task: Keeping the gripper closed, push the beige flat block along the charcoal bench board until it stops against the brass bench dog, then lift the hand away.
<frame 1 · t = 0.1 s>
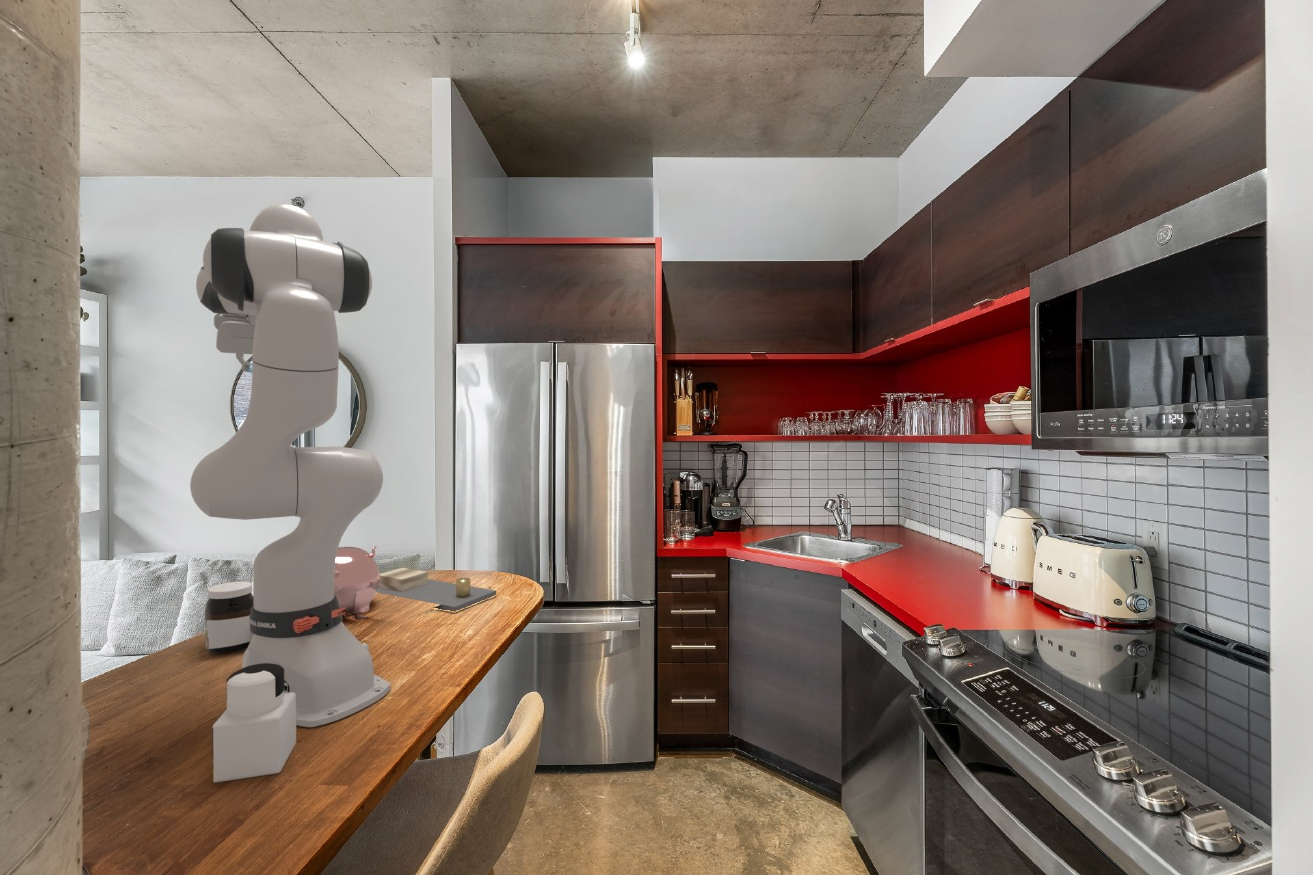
hand: (270, 371, 138), 54 cm above the table, tool tilted 30°, fingers open, 8 cm apart
beige flat block: (402, 585, 148), point 1 cm above the table, touching bench board
medicine bottle: (257, 763, 74), on the table
piggy bank: (334, 617, 129), on the table
spread jar: (243, 647, 112), on the table
bench dog: (463, 602, 139), resting on bench board
bench board: (428, 595, 144), on the table
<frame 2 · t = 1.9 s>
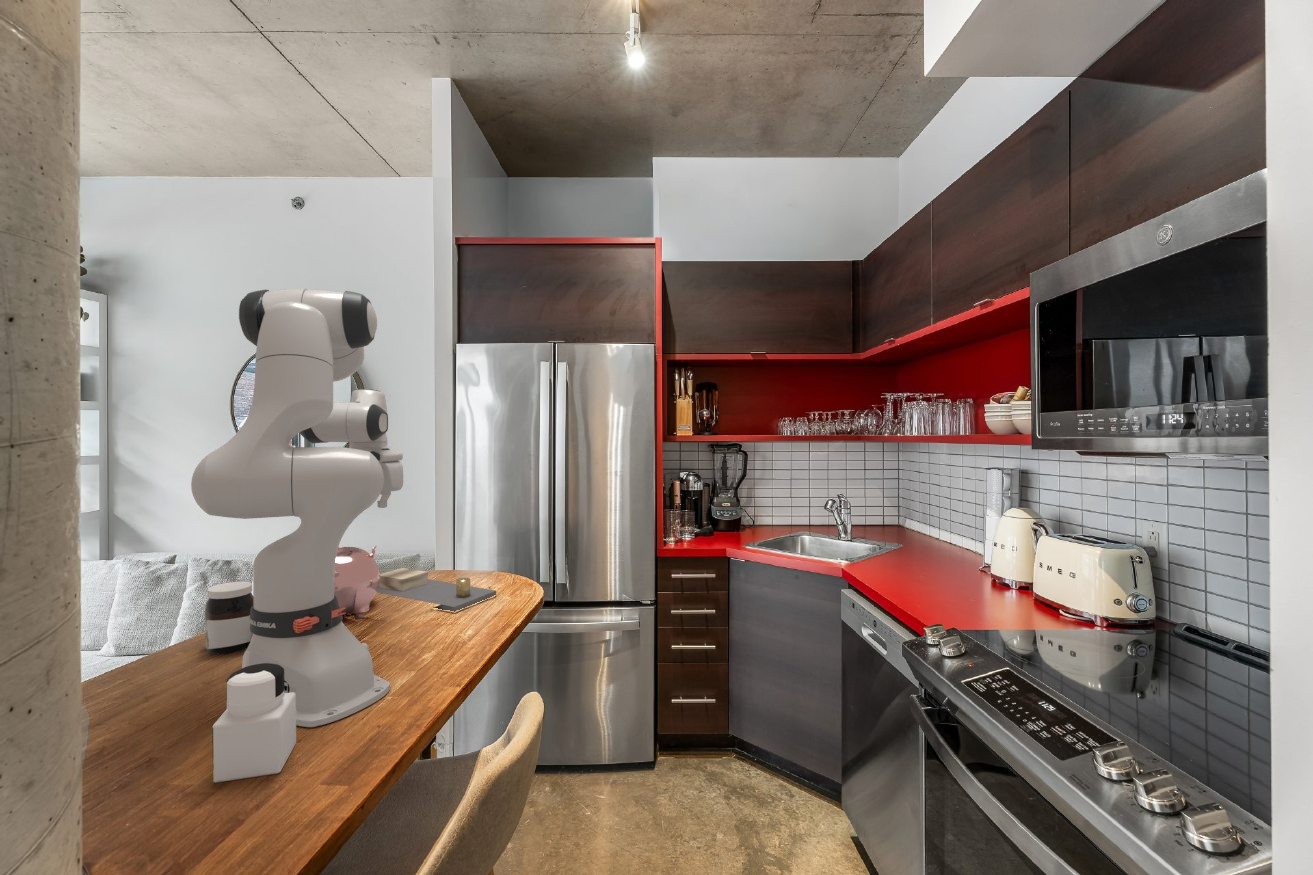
hand: (368, 505, 152), 21 cm above the table, tool pointing down, fingers open, 8 cm apart
nothing on the table moved.
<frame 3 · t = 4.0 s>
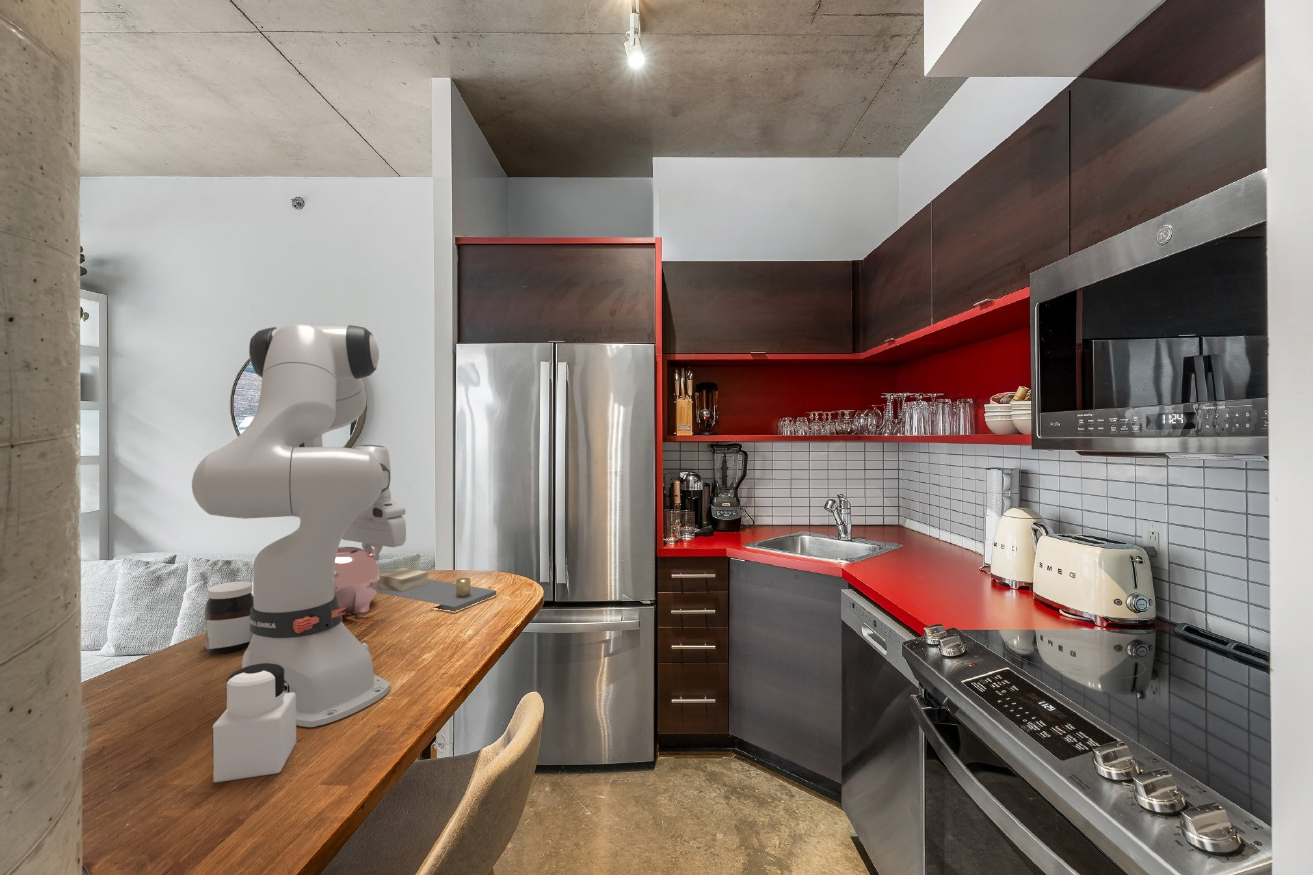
hand: (372, 560, 152), 7 cm above the table, tool pointing down, fingers closed
nothing on the table moved.
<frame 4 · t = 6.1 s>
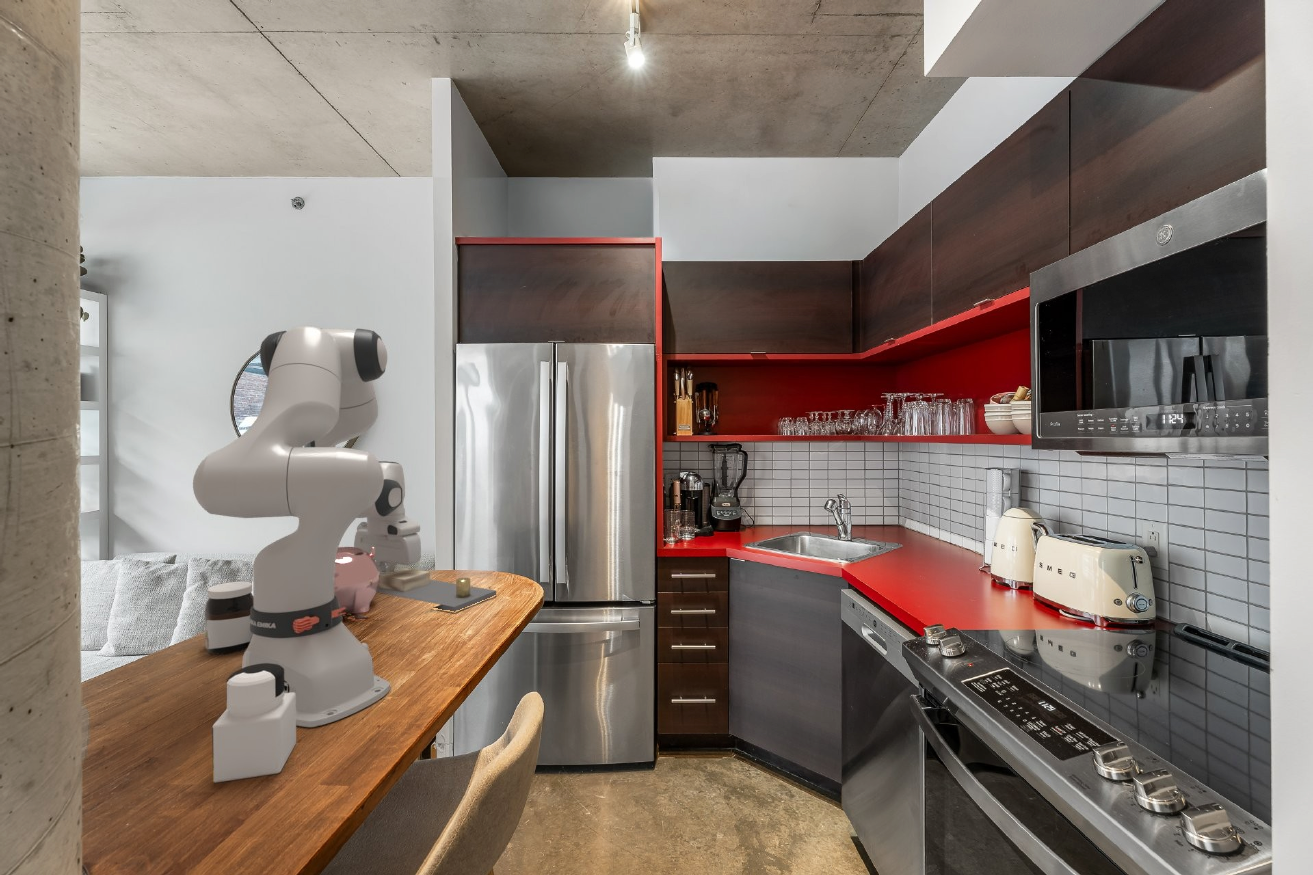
hand: (386, 578, 150), 3 cm above the table, tool pointing down, fingers closed
beige flat block: (404, 585, 147), point 2 cm above the table, touching gripper
everything else where it was.
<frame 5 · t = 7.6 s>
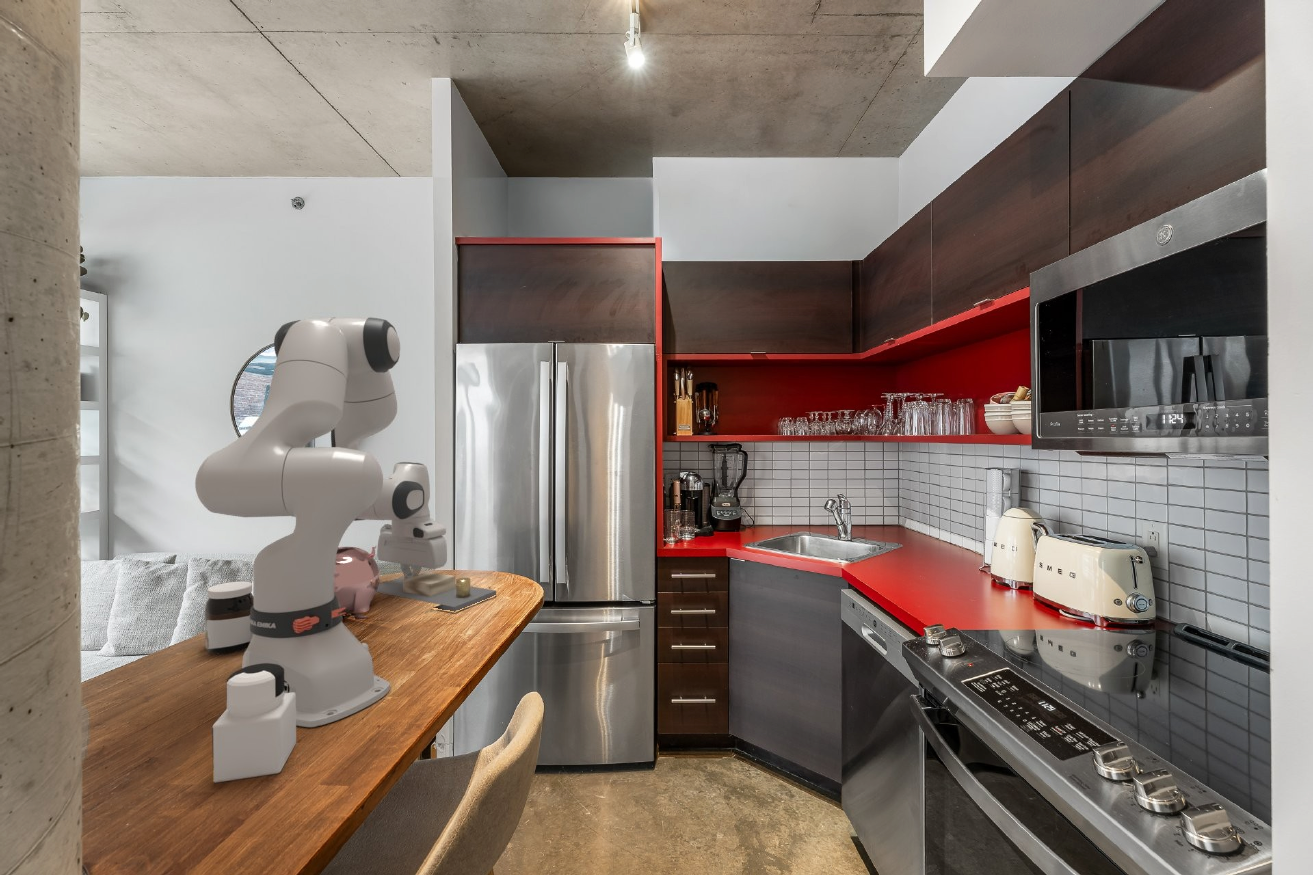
hand: (411, 581, 146), 3 cm above the table, tool pointing down, fingers closed
beige flat block: (429, 589, 144), point 1 cm above the table, touching bench board, gripper
everything else where it was.
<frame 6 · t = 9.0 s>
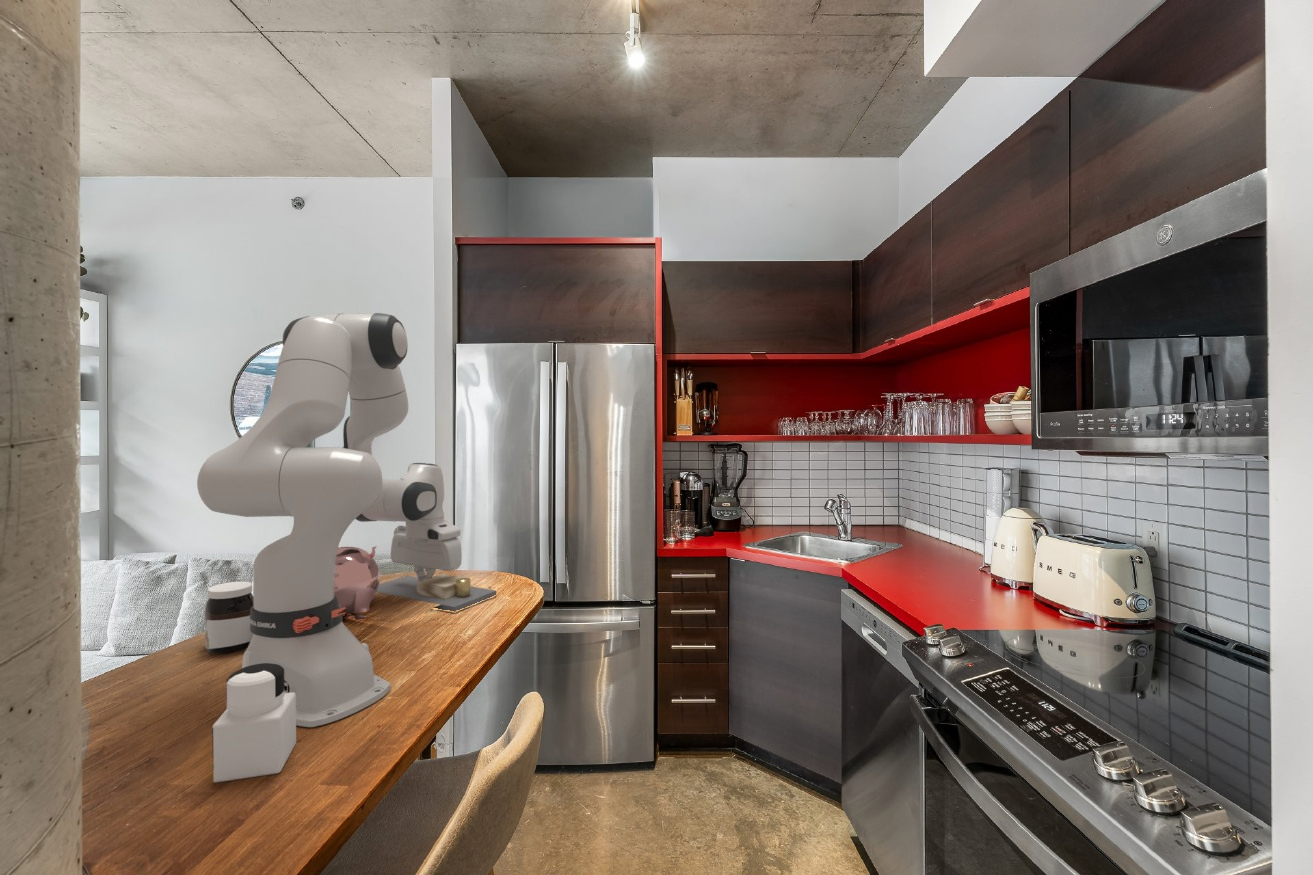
hand: (425, 584, 144), 3 cm above the table, tool pointing down, fingers closed
beige flat block: (443, 592, 142), point 2 cm above the table, touching bench board, gripper
everything else where it was.
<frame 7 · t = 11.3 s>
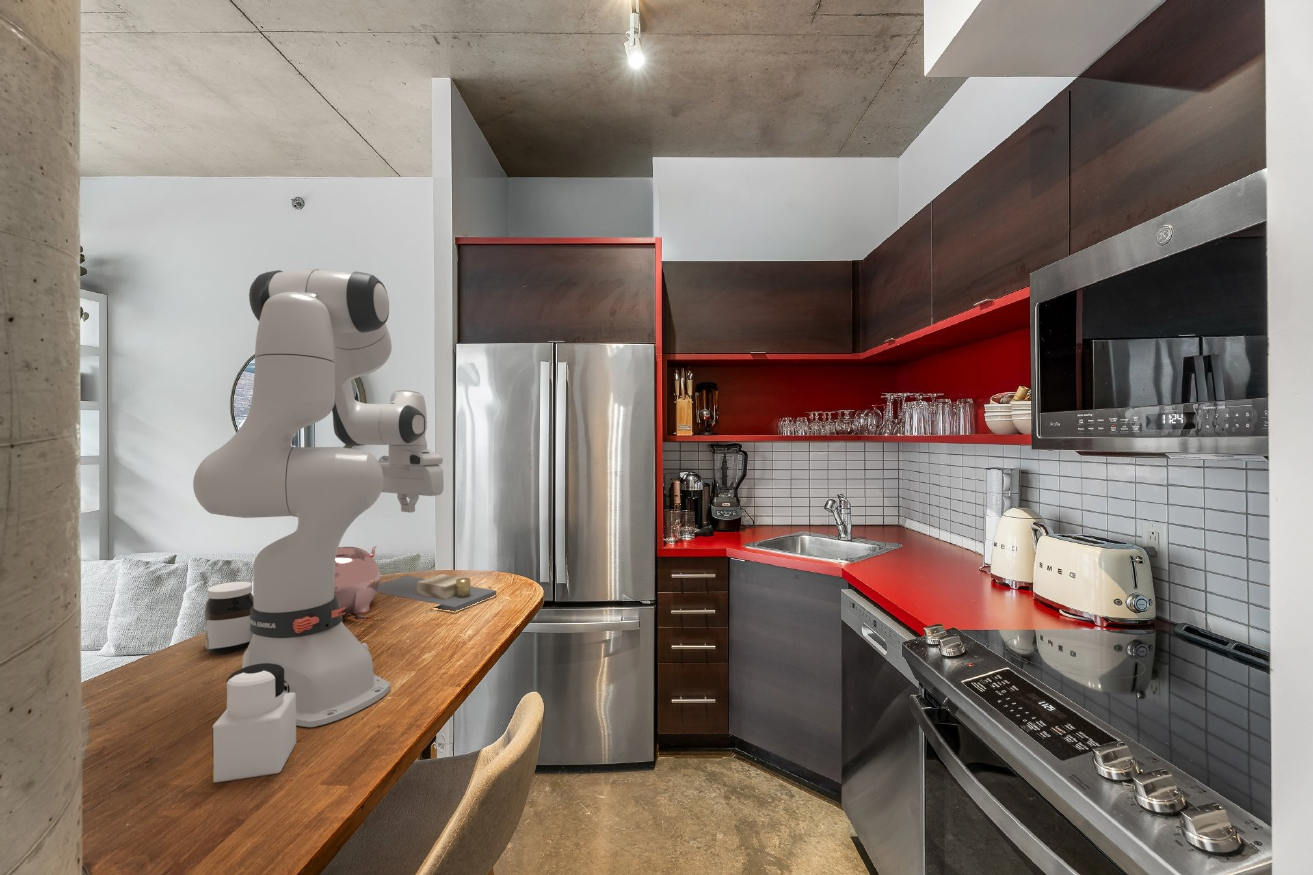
hand: (408, 511, 146), 20 cm above the table, tool pointing down, fingers closed
beige flat block: (443, 592, 142), point 1 cm above the table, touching bench board
everything else where it was.
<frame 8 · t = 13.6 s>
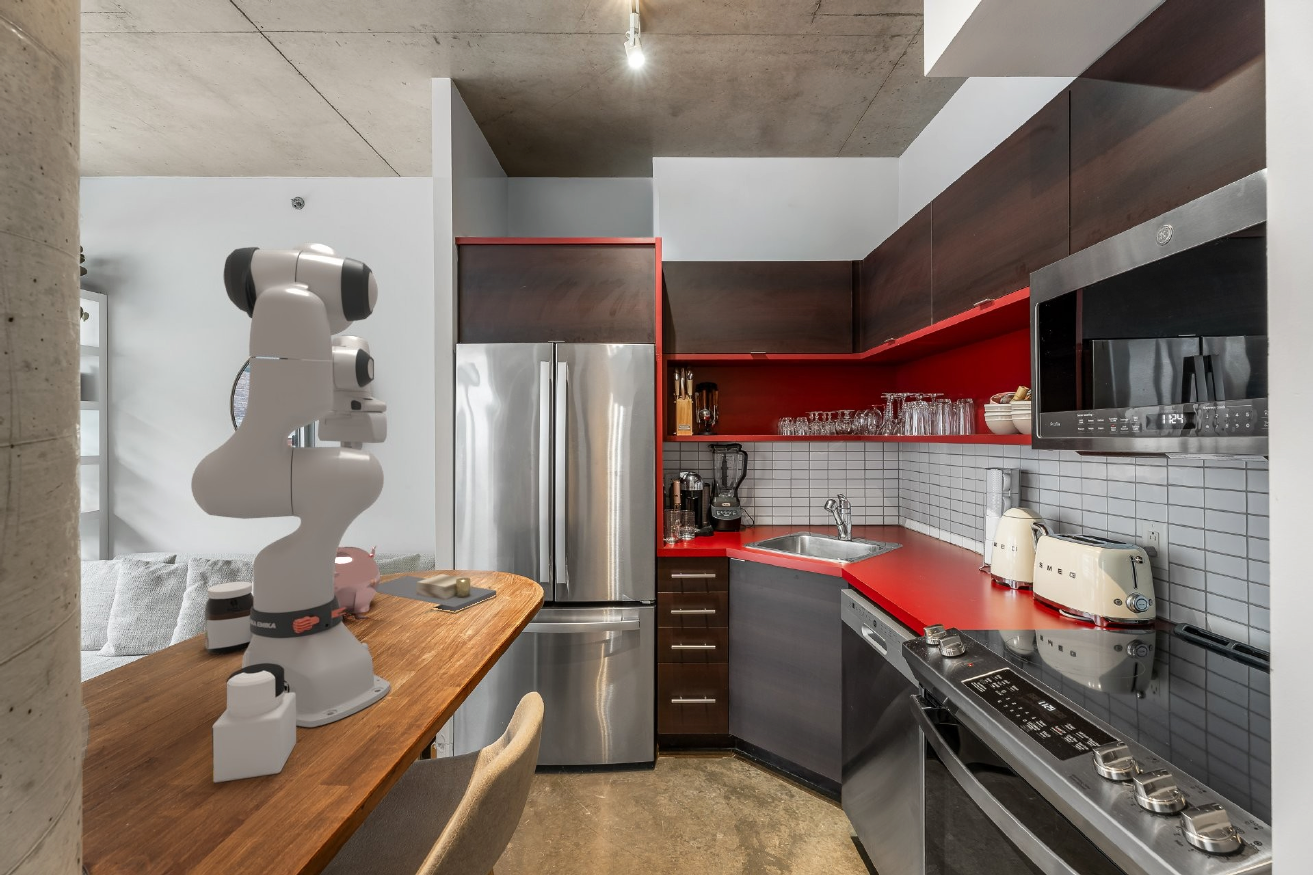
hand: (351, 460, 143), 33 cm above the table, tool pointing down, fingers closed
nothing on the table moved.
at the end: beige flat block 0.5 cm from the target spot on the table beside the bench dog, point 1.5 cm above the table; beige flat block moved 13.8 cm from its start; beige flat block tilted 0° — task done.
